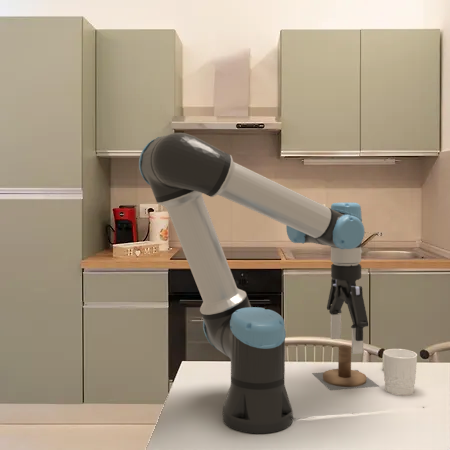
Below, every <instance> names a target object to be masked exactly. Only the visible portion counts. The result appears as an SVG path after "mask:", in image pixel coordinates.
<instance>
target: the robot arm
mask: <svg viewBox="0 0 450 450" xmlns="http://www.w3.org/2000/svg"><path fill="white" fill-rule="evenodd" d="M138 169H139V172H140V175H141V177H142V179H143V180H144V181H145V183H146V184H147V185H149V186H150V189H151V191H152V194H153V196H154V199H155V201H156V204H157V205H160V206H163V207H164V208H165V209H166V210H167V213H168V215H169V217H170V220H171V223H172V225H173V228H174V231H175V233H176V236H177V238H178V239H177V240H179V243H180V246H181V249H182V250H183V254H184V256H185V258H186V261H187V263H188V267H189V268H190V271H191V274H192V276H193V279H194V281H195V284H196V286H197V289H198V291H199V294H200V296H201V299H202V304H201V306H200V307H199V312H200V314H201V317H202V330H203V332H204V335H205V338H206V339H207V342H208V343H209V344H210V345H211V346H212V347H213V348H214V349H216V350H217V351H218V352H221V353H222V354H223V355H225V356H226V357H228V358H229V359H230V386H229V389H228V391H227V394H226V398H225V401H224V404H223V407H222V420H223V421H222V422H223V423H224V424H225V425H226V426H227V427H229V428H230V429H234V430H236V431H239V432H242V433H243V432H244V433H249V434H268V433H269V434H271V433H274V432H279V431H282V430H284V429H287V428H288V427H290V426H291V425H292V423H293V407H292V404H291V402H290V398H289V395H288V392H287V389H286V385H285V375H286V374H285V373H286V372H285V371H286V370H285V368H286V367H285V365H286V362H285V361H286V358H285V357H286V335H287V333H286V327H285V321H284V318H283V316H282V315H280V314H279V313H278V312H276V311H275V310H273V309H265V308H264V307H259V306H257V307H256V306H255V307H253V306H252V305H251V302H250V300H249V297H248V295H247V292H246V291H245V290H243V289H240V288H238V287H237V283H236V281H235V279H234V275H233V273H232V270H231V268H230V266H229V262H228V260H227V257H226V256H225V252H224V249H223V247H222V245H221V242H220V240H219V236H218V234H217V231H216V228H215V225H214V224H213V220H212V218H211V216H210V211H209V209H208V207H207V205H206V202H205V199H204V197H203V194H204V195H206V196H208V197H210V198H213V197H216V196H219V197H222V198H223V199H224V198H225V199H227V200H229V201H232V202H234V203H235V204H238V205H240V206H242V207H245V208H247V209H249V210H251V211H253V212H256V213H258V214H260V215H263V216H265V217H266V218H269V219H271V220H274V221H276V222H278V223H280V224H283V225H285V226H286V228H285V229H286V235H287V237H288V240H289V241H290V242H291V243H294V244H307V243H309V244H310V243H311V244H316V245H321V246H328V247H330V262H331V263H332V264H331V265H330V267H331V269H330V271H331V272H330V273H331V274H330V275H331V276H330V277H331V279H330V280H331V283H330V290H329V293H328V300H327V305H326V309H327V311H329V314H330V339H331V340H336V339H337V340H339V339H342V313H343V311H342V308H343V306H344V303H345V304H346V306H347V308H348V312H349V316H350V319H351V322H352V325H351V326H350V328H351V354H352V355H356V354H358V355H359V354H363V353H364V328H366V327H369V320H368V316H367V315H368V314H367V311H366V306H365V301H364V300H365V299H364V295H363V286H362V285H359V286H357V285H356V284H357V283H356V281H357V280H358V281H359V280H360V279H362V265H361V264H360V263H361V262H362V254H363V249H362V241H363V239H364V237H365V226H364V223H363V222H362V221H363V219H362V207H361V204H359V203H358V202H349V201H348V202H333V203H332V204H331V206H330V207H328V206H326V205H324V204H322V203H320V202H318V201H316V200H313V199H311V198H309V197H307V196H305V195H303V194H301V193H299V192H297V191H295V190H293V189H291V188H288V187H287V186H284V185H282V184H280V183H279V182H276V181H274V180H272V179H270V178H268V177H265V176H264V175H262V174H260V173H257V172H255V171H254V170H251V169H249V168H247V167H246V166H243V165H241V164H239V163H237V162H235V161H234V159H233V156H232V154H230V153H227V152H226V151H223V150H221V149H219V148H218V147H216V146H215V145H212V144H210V143H208V142H207V141H205V140H202V139H201V138H198V137H197V136H195V135H191V134H189V133H185V132H174V133H173V132H172V133H170V134H167V135H162V136H158V137H155V138H153V139H152V140H151V141H149V142H148V143H147V144H146V145H145V146H144V147H143V149H142V151H141V153H140V156H139V160H138Z"/></svg>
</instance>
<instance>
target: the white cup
mask: <svg viewBox="0 0 450 450" xmlns="http://www.w3.org/2000/svg"><path fill="white" fill-rule="evenodd" d="M383 356H384V371H383V377H384V390H385V391H386V392H387V393H389V394H392V395H397V396H410V395H413V394H414V393H415V384H416V378H417V377H416V375H417V364H418V363H417V362H418V353H416V352H415V351H412V350H410V349H404V348H389V349H385V350H383V353H382V357H383Z"/></svg>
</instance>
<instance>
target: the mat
mask: <svg viewBox="0 0 450 450" xmlns="http://www.w3.org/2000/svg"><path fill="white" fill-rule="evenodd" d="M354 370H355V371H359V370H358V369H354ZM324 372H325V371H324ZM324 372H321V371H320V372H312V373H311V374H312V375H313V376H314V377H315V378H316V379H317V380H318V381H319V382H320V383H322V384H323V385H324V386H325V387H326V388H327V389H328V390H329V391H340V390H351V389H362V388H364V389H365V388H376V387H377V388H378V387H379V388H380V385H379V384H377V383H376V382H374V381H373V380H372V379H371V378H369V377H368V376H366V383H365V384H363V385H361V386H356V387H342V386H335V385H332V384H329V383H327V382H325V381H324V380H323V373H324Z"/></svg>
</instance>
